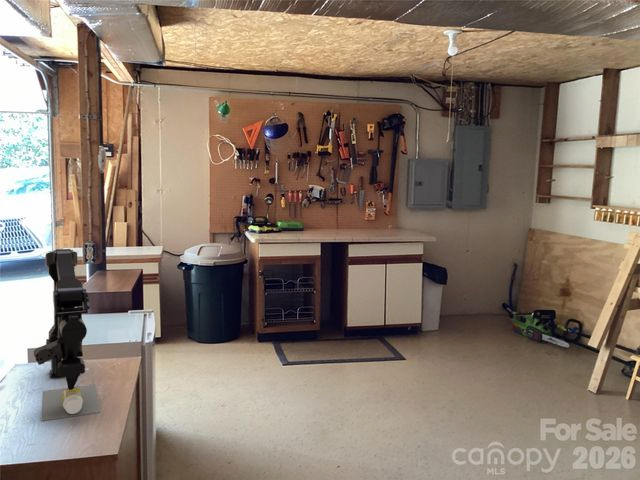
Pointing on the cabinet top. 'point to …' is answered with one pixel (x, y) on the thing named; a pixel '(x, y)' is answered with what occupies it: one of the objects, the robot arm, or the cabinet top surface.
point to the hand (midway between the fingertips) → (70, 389)
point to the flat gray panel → (54, 403)
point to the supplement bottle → (72, 400)
